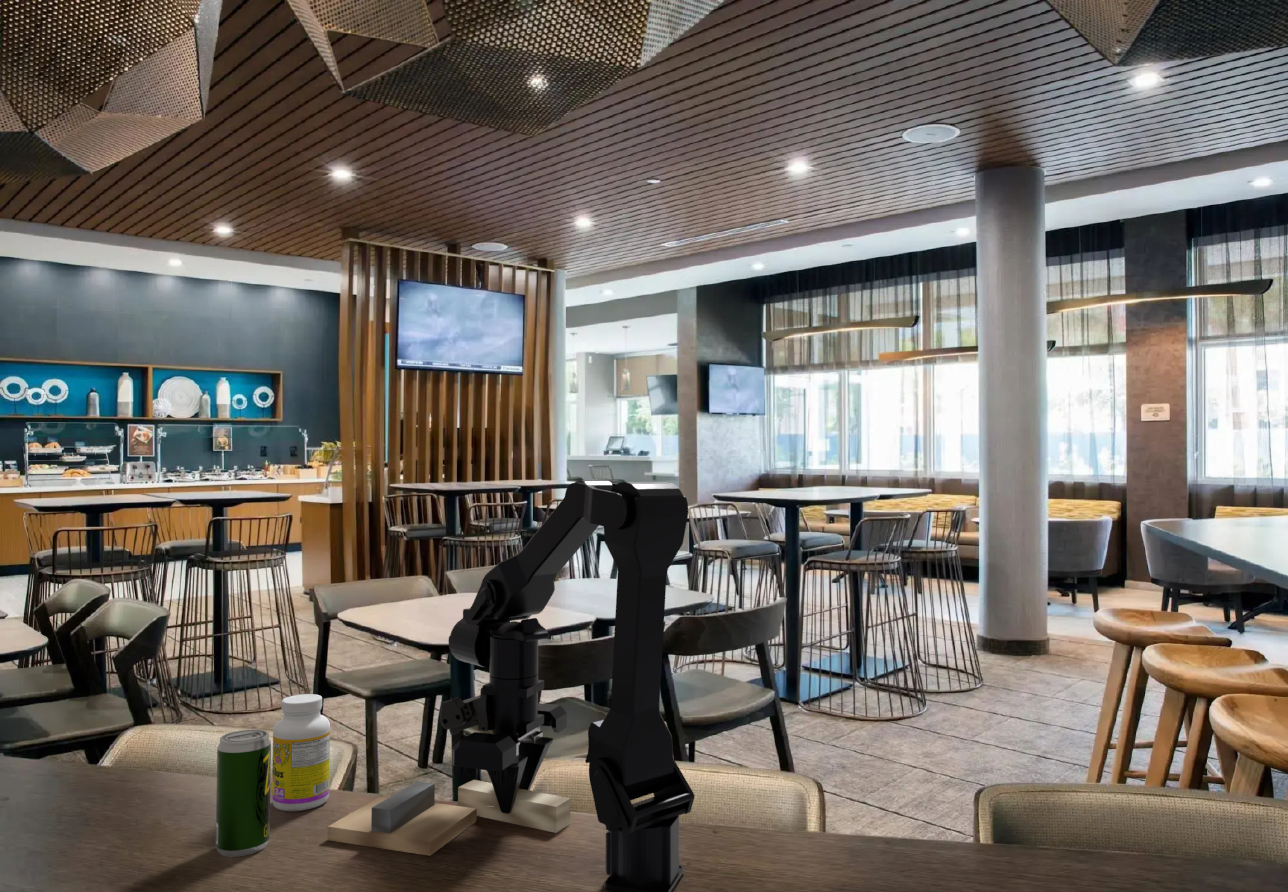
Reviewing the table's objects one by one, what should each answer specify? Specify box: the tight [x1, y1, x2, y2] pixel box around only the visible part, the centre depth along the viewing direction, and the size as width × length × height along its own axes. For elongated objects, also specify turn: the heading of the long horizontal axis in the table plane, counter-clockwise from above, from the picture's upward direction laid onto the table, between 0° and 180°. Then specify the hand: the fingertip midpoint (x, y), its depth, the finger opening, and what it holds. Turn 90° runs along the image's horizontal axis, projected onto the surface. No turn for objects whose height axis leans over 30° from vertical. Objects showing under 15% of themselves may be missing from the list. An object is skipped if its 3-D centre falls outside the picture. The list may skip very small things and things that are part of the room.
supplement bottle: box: [271, 693, 331, 812], centre depth 111 cm, size 7×7×13 cm
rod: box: [457, 779, 571, 834], centre depth 106 cm, size 14×3×3 cm, turn 63°
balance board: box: [327, 780, 478, 856], centre depth 102 cm, size 13×10×4 cm
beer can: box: [215, 729, 272, 858], centre depth 98 cm, size 5×5×12 cm
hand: (513, 807), depth 106 cm, fingers closed on rod, 3 cm apart
